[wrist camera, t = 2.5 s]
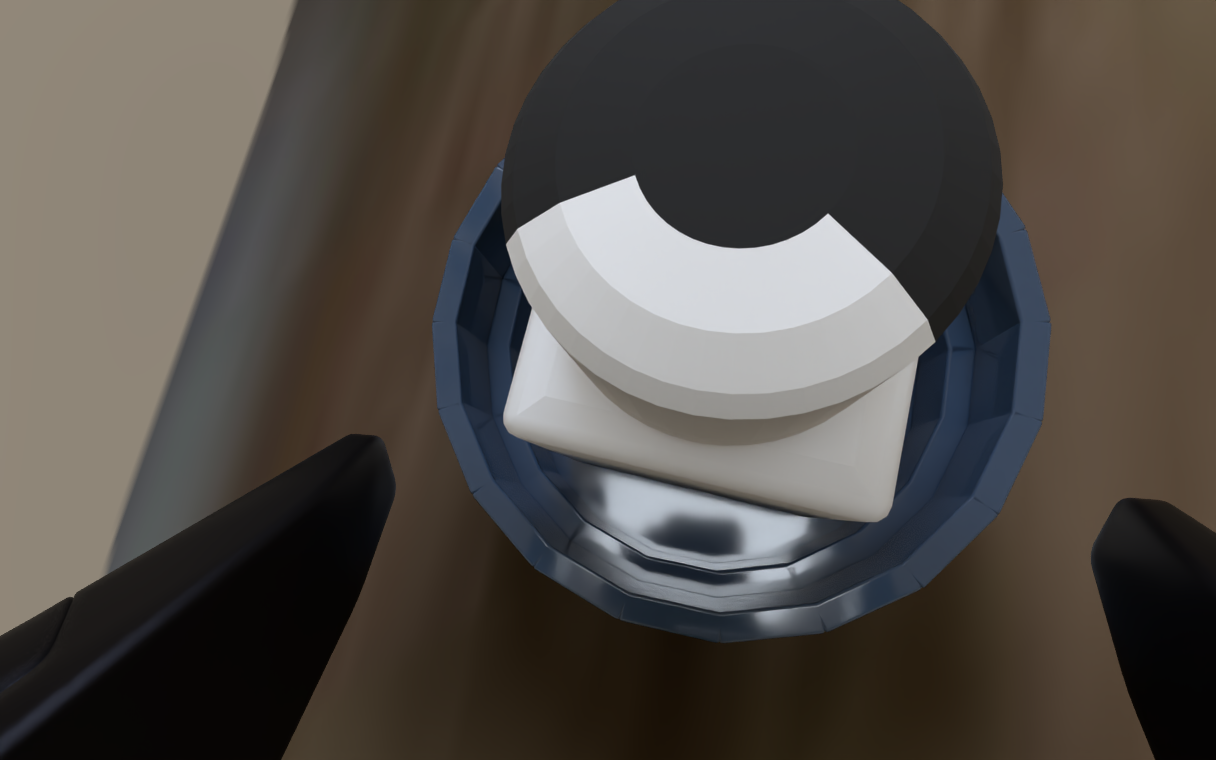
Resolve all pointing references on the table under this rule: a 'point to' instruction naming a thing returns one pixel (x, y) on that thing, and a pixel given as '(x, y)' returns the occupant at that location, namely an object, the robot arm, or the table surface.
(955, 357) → the blue round bowl
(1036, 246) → the table surface
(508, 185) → the medicine bottle
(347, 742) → the table surface
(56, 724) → the robot arm
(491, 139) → the table surface
